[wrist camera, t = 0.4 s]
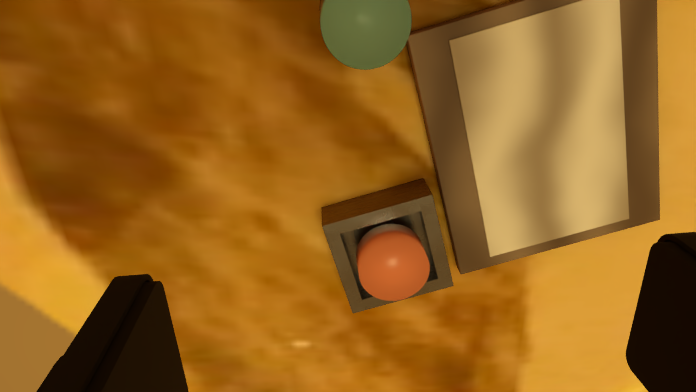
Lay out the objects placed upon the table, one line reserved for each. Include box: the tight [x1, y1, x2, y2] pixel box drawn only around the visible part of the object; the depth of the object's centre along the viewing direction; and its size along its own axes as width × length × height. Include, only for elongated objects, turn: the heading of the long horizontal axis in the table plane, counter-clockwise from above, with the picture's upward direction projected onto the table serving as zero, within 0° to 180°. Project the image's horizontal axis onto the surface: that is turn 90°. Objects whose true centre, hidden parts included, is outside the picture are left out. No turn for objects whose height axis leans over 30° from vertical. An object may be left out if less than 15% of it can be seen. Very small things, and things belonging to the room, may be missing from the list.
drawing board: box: [406, 0, 660, 274], centre depth 35 cm, size 16×19×1 cm
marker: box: [320, 0, 412, 70], centre depth 27 cm, size 4×4×10 cm
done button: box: [356, 224, 430, 301], centre depth 35 cm, size 5×5×2 cm
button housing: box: [322, 179, 453, 313], centre depth 37 cm, size 8×8×3 cm
